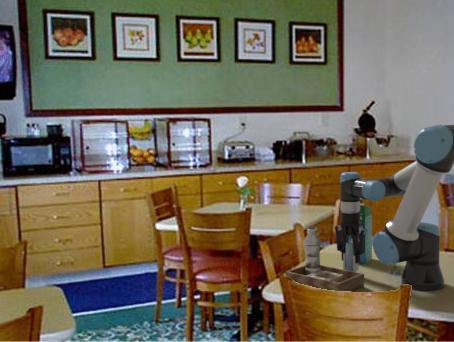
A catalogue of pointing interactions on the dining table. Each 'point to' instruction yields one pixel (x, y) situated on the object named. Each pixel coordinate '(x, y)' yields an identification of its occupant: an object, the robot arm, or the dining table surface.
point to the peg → (349, 256)
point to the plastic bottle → (312, 251)
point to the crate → (328, 278)
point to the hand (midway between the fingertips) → (350, 269)
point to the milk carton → (366, 224)
